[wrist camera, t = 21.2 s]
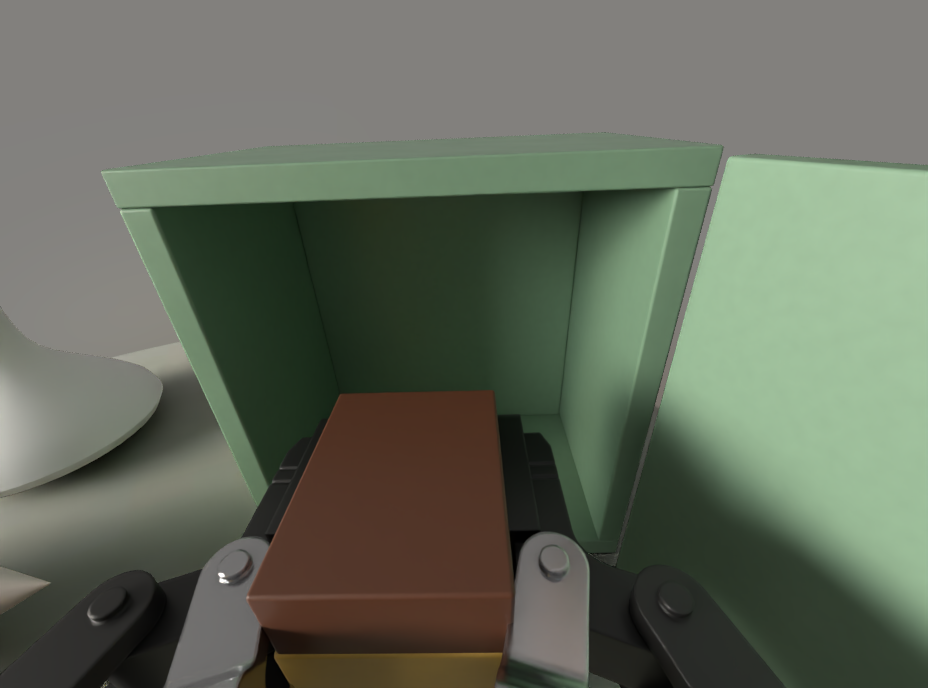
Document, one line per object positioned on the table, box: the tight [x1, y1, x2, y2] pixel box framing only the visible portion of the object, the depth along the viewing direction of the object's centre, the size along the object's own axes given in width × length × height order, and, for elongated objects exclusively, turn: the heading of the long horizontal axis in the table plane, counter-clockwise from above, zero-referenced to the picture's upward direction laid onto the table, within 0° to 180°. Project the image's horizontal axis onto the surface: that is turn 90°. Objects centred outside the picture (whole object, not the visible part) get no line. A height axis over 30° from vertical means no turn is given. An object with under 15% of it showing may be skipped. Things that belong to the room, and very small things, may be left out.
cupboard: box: [101, 132, 723, 553], centre depth 17 cm, size 9×15×16 cm, turn 89°
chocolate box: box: [246, 390, 515, 688], centre depth 10 cm, size 5×4×8 cm
